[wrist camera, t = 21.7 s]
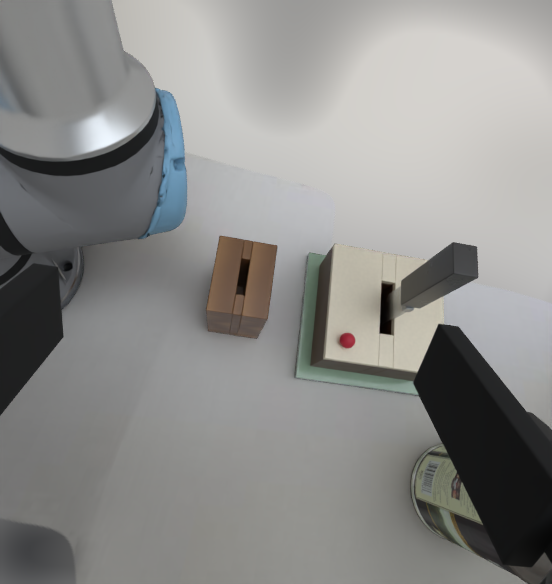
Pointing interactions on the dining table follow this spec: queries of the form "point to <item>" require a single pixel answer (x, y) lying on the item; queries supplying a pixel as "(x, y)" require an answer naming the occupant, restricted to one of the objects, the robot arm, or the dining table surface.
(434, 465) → the coffee can
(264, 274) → the knife block
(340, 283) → the cake
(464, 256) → the knife
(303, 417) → the dining table surface
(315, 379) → the cake platter
